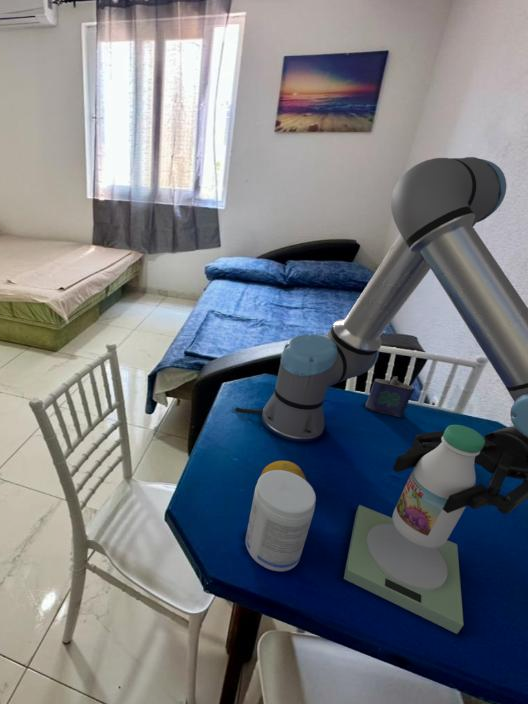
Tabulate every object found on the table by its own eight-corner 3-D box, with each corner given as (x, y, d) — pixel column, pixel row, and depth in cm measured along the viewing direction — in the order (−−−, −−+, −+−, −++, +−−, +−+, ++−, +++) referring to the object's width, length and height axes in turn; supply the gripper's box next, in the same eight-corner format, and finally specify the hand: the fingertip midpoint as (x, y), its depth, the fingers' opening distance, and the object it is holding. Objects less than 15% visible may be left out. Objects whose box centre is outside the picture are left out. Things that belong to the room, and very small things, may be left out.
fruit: (271, 516, 79) (279, 487, 75) (250, 485, 86) (256, 457, 82) (310, 507, 81) (319, 478, 78) (287, 478, 88) (294, 450, 84)
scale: (343, 578, 68) (348, 566, 67) (355, 513, 80) (360, 501, 79) (457, 634, 61) (466, 622, 59) (451, 553, 73) (459, 541, 72)
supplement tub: (310, 556, 72) (331, 497, 65) (274, 584, 67) (292, 524, 60) (268, 518, 79) (282, 461, 72) (233, 541, 74) (244, 482, 67)
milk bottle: (429, 512, 70) (477, 419, 60) (455, 552, 63) (514, 454, 54) (383, 507, 70) (423, 414, 61) (404, 547, 64) (453, 449, 54)
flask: (365, 408, 112) (376, 375, 107) (364, 403, 114) (376, 370, 109) (403, 418, 108) (417, 384, 103) (401, 412, 111) (415, 379, 106)
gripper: (585, 512, 60) (482, 560, 53) (452, 429, 77) (359, 456, 70) (614, 475, 57) (508, 520, 49) (468, 396, 73) (372, 421, 66)
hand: (421, 483), depth 59 cm, fingers closed on milk bottle, 7 cm apart
